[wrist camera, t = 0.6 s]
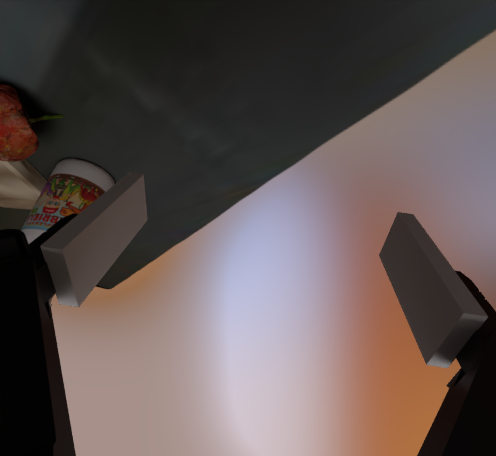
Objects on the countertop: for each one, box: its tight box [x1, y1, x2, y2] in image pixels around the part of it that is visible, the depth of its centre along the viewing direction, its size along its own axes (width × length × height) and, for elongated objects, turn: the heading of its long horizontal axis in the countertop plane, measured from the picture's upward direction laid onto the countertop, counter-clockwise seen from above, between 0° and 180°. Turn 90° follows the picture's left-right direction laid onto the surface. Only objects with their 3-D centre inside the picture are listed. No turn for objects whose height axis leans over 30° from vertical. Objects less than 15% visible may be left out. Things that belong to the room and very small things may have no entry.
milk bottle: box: [21, 158, 115, 306], centre depth 37 cm, size 8×8×20 cm
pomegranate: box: [0, 84, 63, 162], centre depth 30 cm, size 7×7×10 cm
